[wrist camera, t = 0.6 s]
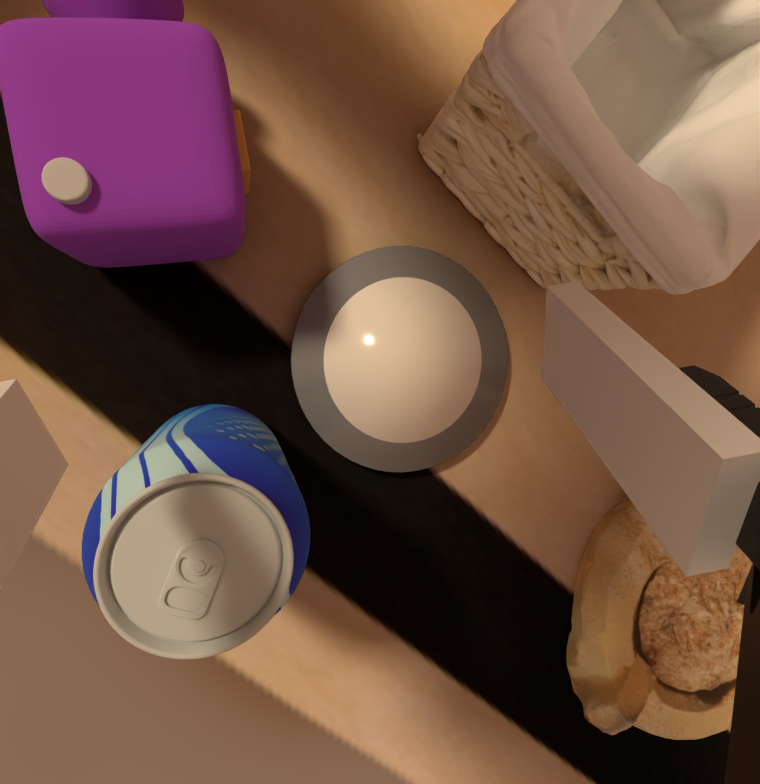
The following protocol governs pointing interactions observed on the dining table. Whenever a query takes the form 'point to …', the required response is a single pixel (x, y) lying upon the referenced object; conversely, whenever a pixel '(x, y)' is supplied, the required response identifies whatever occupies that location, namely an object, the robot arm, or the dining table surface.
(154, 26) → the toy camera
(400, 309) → the coaster plate
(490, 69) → the storage basket
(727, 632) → the ashtray
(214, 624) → the beer can
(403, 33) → the dining table surface
